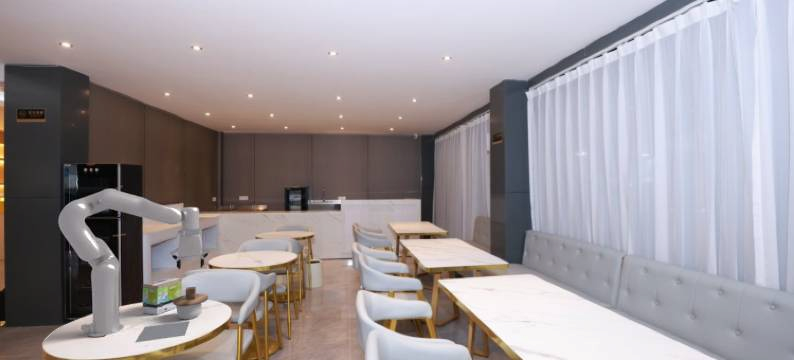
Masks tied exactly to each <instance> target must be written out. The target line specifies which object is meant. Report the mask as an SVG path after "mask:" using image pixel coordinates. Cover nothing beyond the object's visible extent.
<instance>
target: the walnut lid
mask: <svg viewBox="0 0 794 360" xmlns="http://www.w3.org/2000/svg"><path fill="white" fill-rule="evenodd" d="M208 300H209V296H208V294H205V293H197V287H196V286H190V287H187V286H186V288H185V295H182V296H181V297H178V298H176V299H174V300H173V304H174V305H177V306H189V305H196V304H200V303H201V304H202V303H205V302H207V301H208Z"/></svg>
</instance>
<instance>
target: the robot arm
mask: <svg viewBox="0 0 794 360" xmlns="http://www.w3.org/2000/svg"><path fill="white" fill-rule="evenodd" d="M108 209H109V210H114V211H117V212H121V213H126V214H128V215H133V216H137V217H140V218H144V219H148V220H152V221H155V222H159V223H164V224H168V225H177V224H178V223H180V222H181V230H178V232H177V233H178V234H180V236H179V239H178V247H177V248H174V249H173V250H171V251H170V256H171V257H172V258H173V259H174V260H175V261H176V268H177V269H178V270H181V268H182V266H181V263H182V262H181V261H182V260H181V258H187V257H188V258H189V257H190V258H191V257H200V268H203V267H204V266H205V258H206V257H207V256H208V255H209V254H210V251H211V249H210V248H208V247H205V246H203V242H202V241H203V240H202V235H201V234H200V209H199V207H196V206H189V207H176V206H175V207H173V206H166V205H163V204H159V203H156V202H154V201H151V200H149V199H148V198H145V197H142V196H138V195H135V194H131V193H127V192H123V191H120V190H117V189H115V188H104V189H103V190H101V191H99V192H95V193H93V194H89V195H87V196H84V197H81V198H79V199H75V200H72V201H70V202H68V204H66V205H65V206H64V207H63V208H62V210H61V211H60V213H59V216H58V226H59V230H60V231H61V233H62V234H63V236H64V237H65V239H66V240H67V241H68V243H69V245H71V247H72V249H73V250H74V252H75V253H76V254H77V256H78V257H79V258H80V259H81V260H82V261H84V262H86V263H87V262H88V264H89V266H90V267H91V268H92V270H91V273H90V277H91V278H90V279H91V295H92V296H91V297H92V300H91V301H92V322H91V323H88V324H86V323H85V324H81V326H80V330H82V331H88V333H87V335H88V336H89V337H93V338H99V337H106V336H107V335H108V336H109V335H112V334H115V333H118V332H120V331H123V330H124V326H125V325H124V324H122V323H120V282H119V281H120V279H119V276H120V274H119V272H120V267H121V265H120V261H119V260H118V258H117V257H116V256H115V254H114V253H113V251H112V250H111V249H110V247H109V246H108V245H107V243H106V242H105V241H104V240H103V239H101V238H99V237H96V236H95V235H94V233H93V232H92V231H91V228H90V227H89V226H88V225H87V223H86V222H85V220H86V218H87V217H90V216H92V215H95V214H98V213H100V212H103V211H106V210H108ZM203 251H205V253H204V254H203ZM175 253H177V254H178V256H177V255H176V254H175Z"/></svg>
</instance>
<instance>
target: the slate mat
mask: <svg viewBox="0 0 794 360" xmlns="http://www.w3.org/2000/svg"><path fill="white" fill-rule="evenodd" d="M190 323H191V322H190V321H189V320H188V321H187V320H186V321H179V322H172V323H165V324H159V325H158V324H157V325H148V326H144V328H143V329H142V331H141V333H140V334H139V336H138V337H137V339H136V340H135V343H140V342H142V343H143V342H148V341H154V340H162V339H168V338H169V339H170V338H176V337H177V338H178V337H185V336H186V333H187V332H188V331H187V330H188V327H189V324H190Z"/></svg>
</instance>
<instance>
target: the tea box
mask: <svg viewBox="0 0 794 360" xmlns="http://www.w3.org/2000/svg"><path fill="white" fill-rule="evenodd" d="M182 289H183V281H182V278H177V277H164V278H161V279H158V280H154V281H150V282H146V283H144V284H142V314H147V315H153V316H154V315H155V316H156V315H157V316H158V315H159V314H161V313H165V312H167V311H170V310H174V309H177V306H176V305H174V304H173V300H174V299H176V298H178V297H181V296H183V294H182V293H183V291H182Z"/></svg>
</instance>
